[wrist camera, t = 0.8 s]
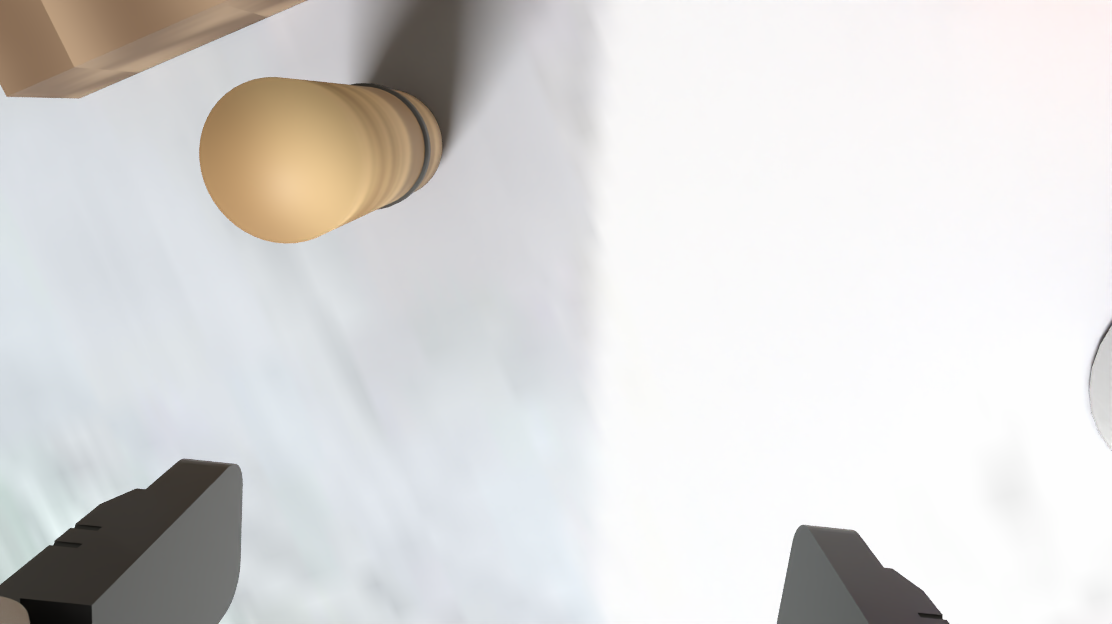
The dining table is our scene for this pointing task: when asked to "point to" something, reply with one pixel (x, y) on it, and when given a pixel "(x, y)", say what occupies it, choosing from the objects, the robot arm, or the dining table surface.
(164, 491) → the robot arm
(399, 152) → the wooden pepper mill
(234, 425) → the dining table surface
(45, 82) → the walnut board
